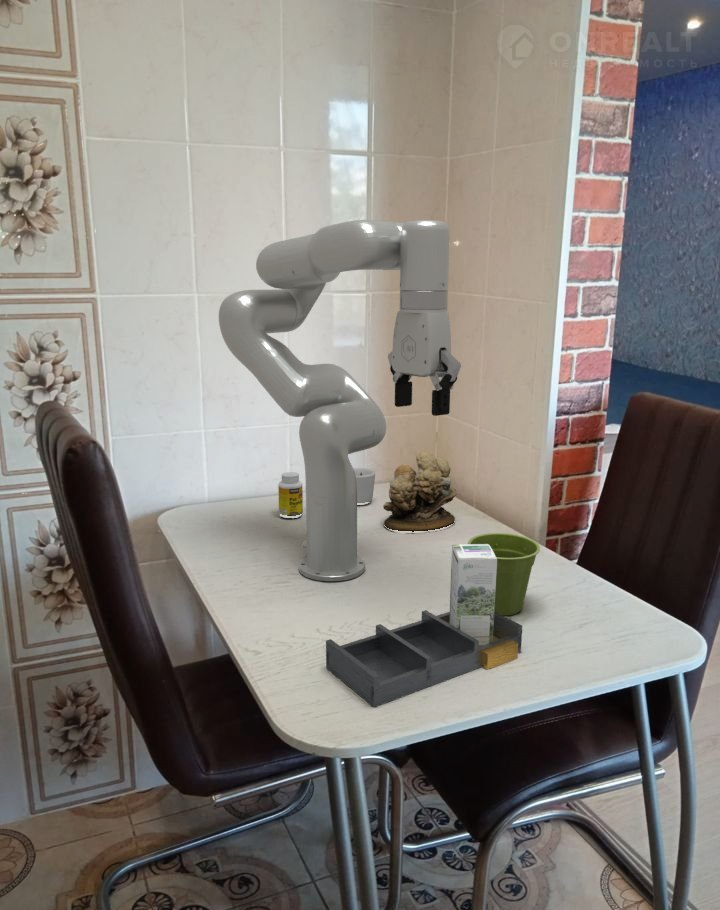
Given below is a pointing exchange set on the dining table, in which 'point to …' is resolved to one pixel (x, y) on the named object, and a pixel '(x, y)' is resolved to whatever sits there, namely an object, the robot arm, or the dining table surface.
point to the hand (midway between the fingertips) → (421, 410)
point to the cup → (364, 484)
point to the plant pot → (510, 568)
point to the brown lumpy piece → (420, 496)
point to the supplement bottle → (290, 494)
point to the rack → (418, 656)
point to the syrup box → (473, 590)
